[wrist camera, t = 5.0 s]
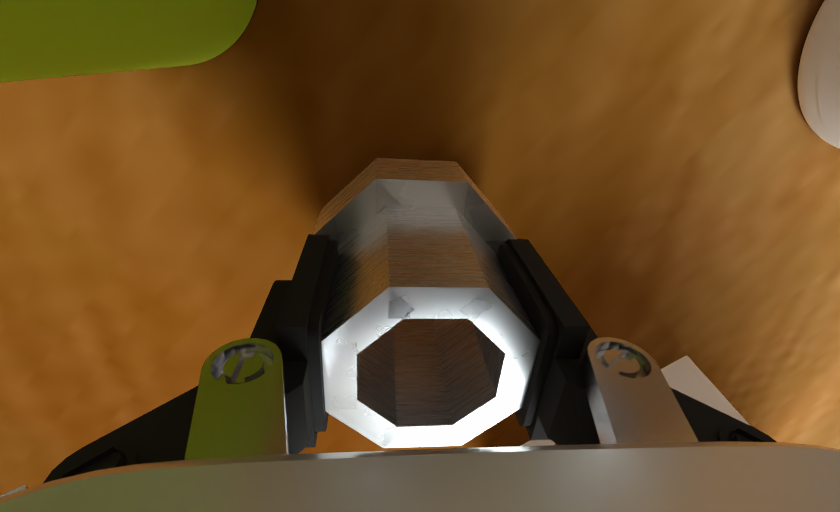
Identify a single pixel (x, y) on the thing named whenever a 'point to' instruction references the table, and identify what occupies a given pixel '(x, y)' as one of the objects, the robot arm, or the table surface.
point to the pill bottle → (822, 74)
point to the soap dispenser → (114, 35)
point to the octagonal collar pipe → (421, 308)
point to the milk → (685, 390)
